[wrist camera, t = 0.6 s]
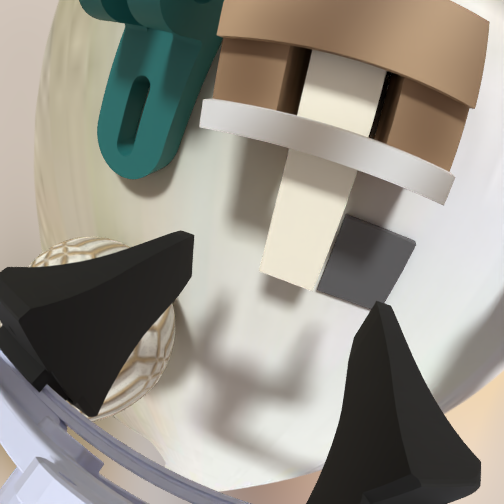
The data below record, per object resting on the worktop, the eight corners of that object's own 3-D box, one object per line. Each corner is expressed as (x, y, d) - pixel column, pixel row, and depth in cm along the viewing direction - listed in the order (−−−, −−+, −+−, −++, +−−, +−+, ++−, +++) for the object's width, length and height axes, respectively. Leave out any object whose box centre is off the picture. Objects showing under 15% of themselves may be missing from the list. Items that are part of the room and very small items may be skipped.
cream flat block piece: (380, 67, 12) (391, 51, 8) (326, 242, 19) (312, 291, 15) (329, 52, 13) (316, 30, 8) (284, 227, 20) (258, 271, 15)
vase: (159, 351, 34) (70, 468, 18) (75, 262, 32) (-34, 358, 16) (233, 308, 25) (101, 510, 9) (111, 178, 23) (-82, 307, 7)
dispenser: (445, 46, 10) (491, 20, 4) (413, 165, 14) (443, 205, 9) (278, -1, 12) (232, -45, 6) (255, 115, 16) (199, 127, 11)
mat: (414, 240, 16) (416, 244, 16) (378, 307, 20) (378, 311, 19) (345, 214, 17) (345, 217, 17) (318, 285, 21) (317, 289, 20)
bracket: (182, -46, 11) (107, -78, 5) (264, -34, 11) (204, -91, 4) (110, 150, 22) (37, 180, 15) (167, 184, 21) (94, 228, 15)
